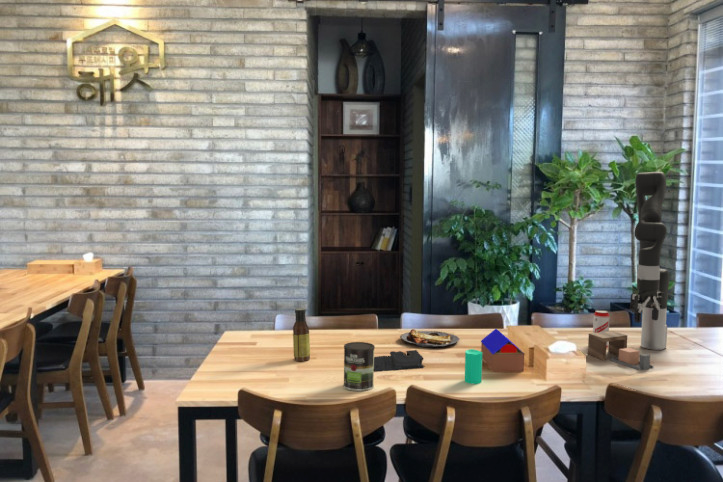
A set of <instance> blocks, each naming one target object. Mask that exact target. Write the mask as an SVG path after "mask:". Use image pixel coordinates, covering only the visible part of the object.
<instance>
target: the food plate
mask: <svg viewBox="0 0 723 482" xmlns="http://www.w3.org/2000/svg"><path fill="white" fill-rule="evenodd" d="M399 337H400V339H401V340H402V341H403V342H405V343H406V342H407V343H409V344H414V345H416V346H418V347H422V348H425V347H426V348H427V347H429V348H431V347H433V348H434V347H438V348H439V347H445V346H449V345H452V344H455V343H457V342H459V341H460V340H461V339H460V337H459V336H458V335H455V334H452V333H448V332H445V331H436V330H433V331H432V330H415V329H411V330H410V331H408V332H405V333H403V334H401V335H400V336H399Z"/></svg>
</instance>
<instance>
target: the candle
mask: <svg viewBox="0 0 723 482" xmlns="http://www.w3.org/2000/svg"><path fill="white" fill-rule="evenodd" d="M464 353H465V354H464V355H465V356H464V382H465V383H467V384H471V385H472V384H473V385H478V384H482V381H483V380H482V378H483V377H482V375H483V359H482V352H481V351H480V350H477V349H475V348H472V349H471V348H470V349H466V350H465V352H464Z"/></svg>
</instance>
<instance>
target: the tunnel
mask: <svg viewBox="0 0 723 482" xmlns="http://www.w3.org/2000/svg"><path fill="white" fill-rule="evenodd" d="M587 338H588V339H587V340H588V342H587V343H588V346H587V356H590V357H592V358H596V359H598V360H601V361H606V359H607V353H609V354H611V355H615V356H617V357H618V356H619V349H624V348H628V335H627V334H624V333H620V332H616V331H613V330H609V331H607V332H598V333H593V332H591V333H588V337H587ZM607 342H608V347H607V348H606V345H607Z"/></svg>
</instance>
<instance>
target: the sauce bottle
mask: <svg viewBox="0 0 723 482" xmlns="http://www.w3.org/2000/svg"><path fill="white" fill-rule="evenodd" d="M306 312H307V311H306V308H303V307H299V308H297V307H296V308H294V314H295V322H294V323H293V327H292V340H293V342H292V344H293V358H294V361H297V362H299V363H300V362H307V361H309V360H310V359H311V357H310V356H311V343H310V329H309V326H308V324H307V321H306V320H307V319H306Z"/></svg>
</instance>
